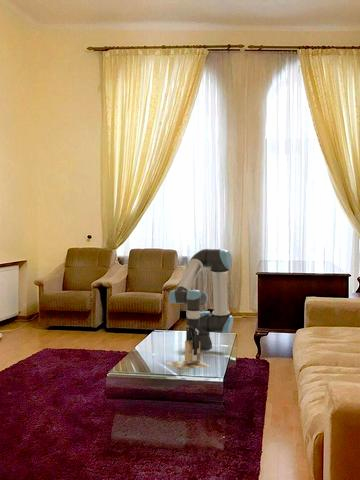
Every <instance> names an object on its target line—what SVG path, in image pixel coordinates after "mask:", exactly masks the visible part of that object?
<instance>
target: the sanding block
mask: <svg viewBox="0 0 360 480" xmlns="http://www.w3.org/2000/svg"><path fill="white" fill-rule="evenodd" d="M184 341H185V342H184V361H185V362H186V363H187V364H195V363H200V361H201V350H200V341H199V349H197V361H192V348H193V342H192V340H187V341H186V340H184Z"/></svg>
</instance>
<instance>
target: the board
mask: <svg viewBox="0 0 360 480" xmlns="http://www.w3.org/2000/svg"><path fill="white" fill-rule="evenodd" d="M166 364H167V365H169V366H170V367H172V368H174V369H175V370H185V369H186V370H187V369H197V368H207V367H208V368H209V367H210V368H211V365H209V364H207V363H205V362H204V361H201V360H200V363H195V364H187V363H186V362H185V360H181V361H168V362H166Z"/></svg>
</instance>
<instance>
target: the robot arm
mask: <svg viewBox="0 0 360 480" xmlns="http://www.w3.org/2000/svg"><path fill="white" fill-rule="evenodd" d="M232 259H233V258H232V254H231V252H230V251H229V250H227V249H222V248H221V249H220V248H219V249H217V248H215V249H211V248H203V249H201V250H199V251H198V252H196V253H194V255H193V256H192V257H191V258H190V259H189V260H188V267H187V268H186V271H185V272H184V274H183V275H182V278H181V280H180V281H179V284H178V286H177V287H176V289H173V290H170V291H169V293H168V301H169V302H170V303H171V304H175V305H176V304H177V305H178V304H181V305H186V313H185V314H186V321H185V322H186V323H185V324H186V328H185V330H186V334H185V335H186V336H185V337H186V338H185V341H187V340H192V342H193V348H192V361H197V349H199V341H200V351H201V350H202V351H203V350H210V349H213V342H212V339H211V333H215V334H216V333H217V334H229V333H231V331H232V328H233V326H234V316H233V315H231V312H230V310H229V308H228V279H227V278H228V277H227V274H228V272H229V271H230V269H231V267H232V265H233V260H232ZM204 268H209V270H210V272H211V273H212V284H213V285H212V287H213V311H212V312H210V310H209V311H208V310H202V311H201V306H203V305H205V304H206V303H207V302H208V301H209V296H208V294H207V292H205V291H201V290H199V289H192V288H193V285H194V284H195V283H194V282H195V281H196V279H197V278H198V275H199V273H200V272H201V271H203V269H204Z"/></svg>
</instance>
